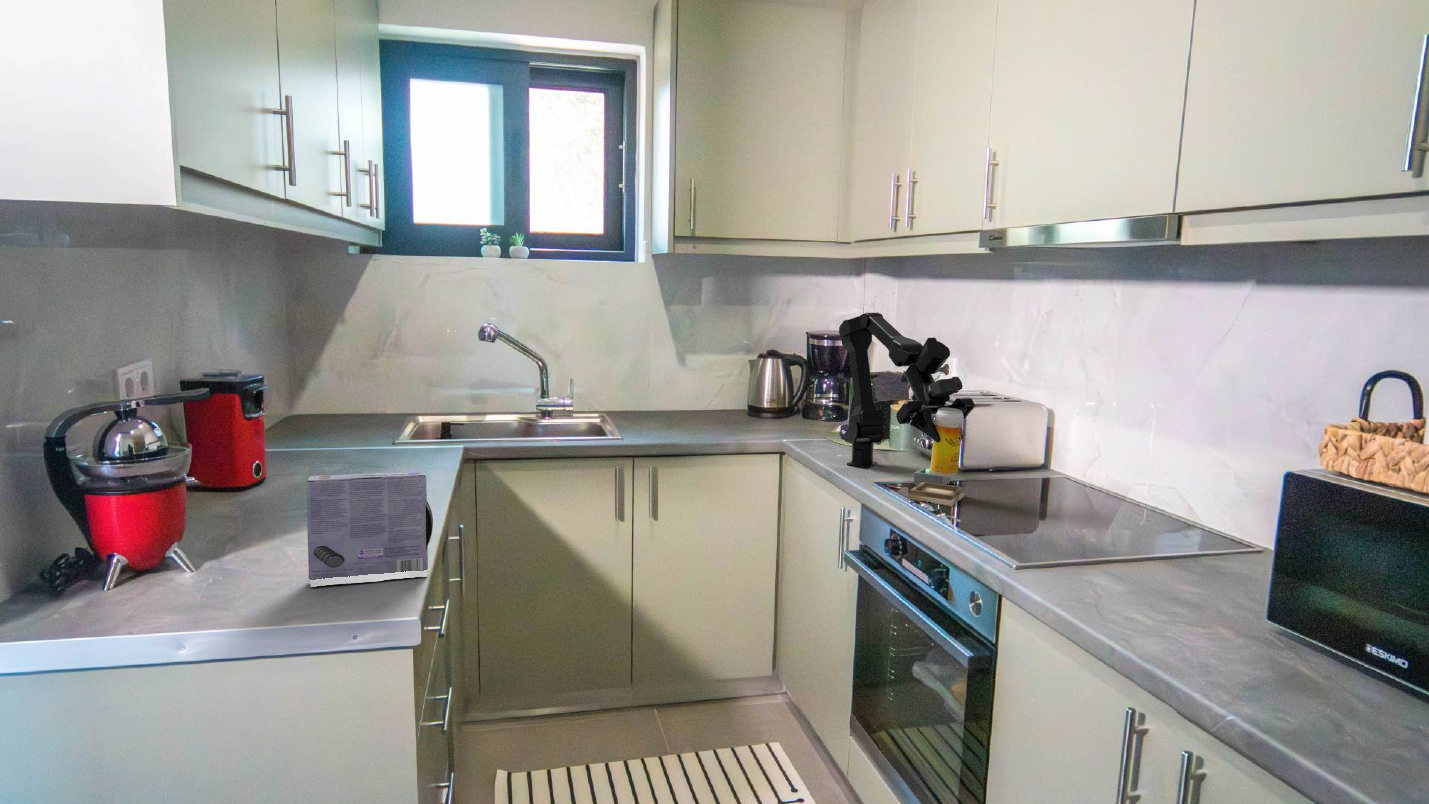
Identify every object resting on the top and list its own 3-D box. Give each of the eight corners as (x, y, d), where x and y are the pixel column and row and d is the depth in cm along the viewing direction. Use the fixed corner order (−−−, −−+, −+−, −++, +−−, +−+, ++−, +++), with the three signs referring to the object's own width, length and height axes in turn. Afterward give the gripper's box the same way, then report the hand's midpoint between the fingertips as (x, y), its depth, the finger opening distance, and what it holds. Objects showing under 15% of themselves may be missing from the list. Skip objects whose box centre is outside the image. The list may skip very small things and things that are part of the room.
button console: (922, 479, 217) (923, 467, 216) (950, 482, 213) (951, 470, 212) (913, 484, 211) (914, 472, 210) (942, 488, 207) (942, 476, 207)
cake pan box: (434, 568, 148) (430, 467, 146) (435, 577, 144) (431, 474, 141) (312, 579, 142) (305, 474, 140) (308, 590, 137) (301, 481, 135)
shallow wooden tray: (922, 490, 205) (922, 481, 205) (964, 496, 200) (964, 487, 200) (908, 499, 197) (908, 490, 196) (951, 505, 191) (952, 496, 191)
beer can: (954, 479, 195) (962, 414, 192) (927, 474, 198) (934, 411, 195) (959, 472, 201) (966, 409, 198) (932, 468, 203) (939, 406, 200)
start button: (927, 476, 214) (928, 467, 214) (942, 478, 212) (942, 469, 212) (923, 479, 211) (923, 470, 211) (937, 481, 209) (938, 471, 209)
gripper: (905, 366, 195) (932, 422, 187) (972, 363, 202) (1001, 417, 194) (884, 395, 204) (909, 450, 195) (949, 392, 211) (976, 445, 202)
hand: (950, 440), depth 196 cm, fingers closed on beer can, 6 cm apart
